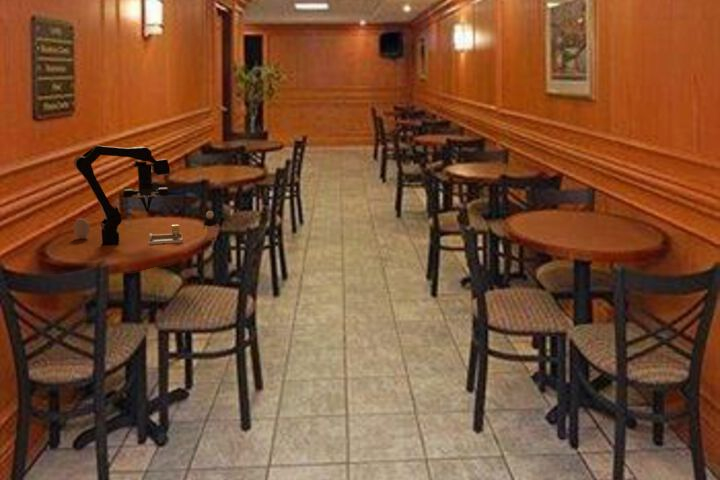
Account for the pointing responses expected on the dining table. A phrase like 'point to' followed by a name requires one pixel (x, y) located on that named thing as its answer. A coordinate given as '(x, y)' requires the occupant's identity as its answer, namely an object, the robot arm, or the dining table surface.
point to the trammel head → (175, 230)
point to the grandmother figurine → (210, 226)
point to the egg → (81, 228)
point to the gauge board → (165, 238)
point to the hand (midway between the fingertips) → (147, 212)
